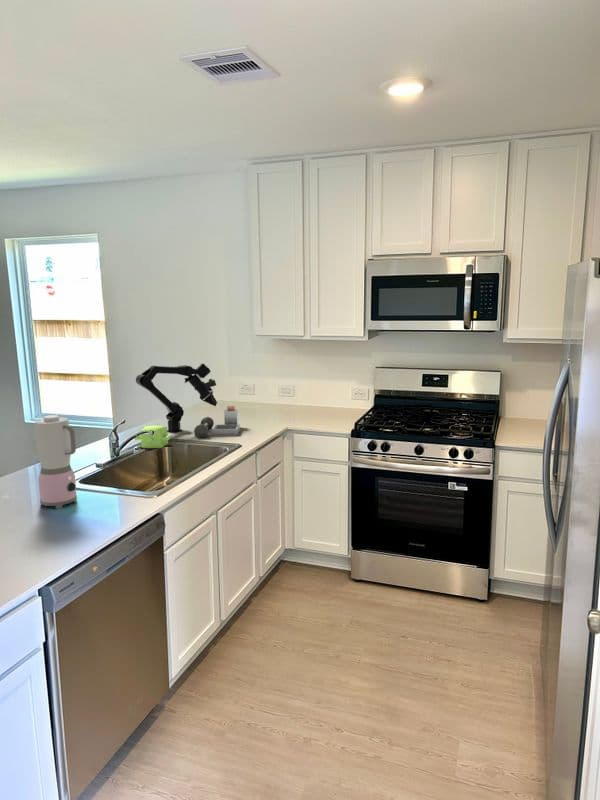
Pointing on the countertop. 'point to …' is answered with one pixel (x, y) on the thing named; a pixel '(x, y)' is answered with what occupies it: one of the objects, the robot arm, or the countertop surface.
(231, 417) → the block
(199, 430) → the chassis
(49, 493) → the blender
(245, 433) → the countertop surface
